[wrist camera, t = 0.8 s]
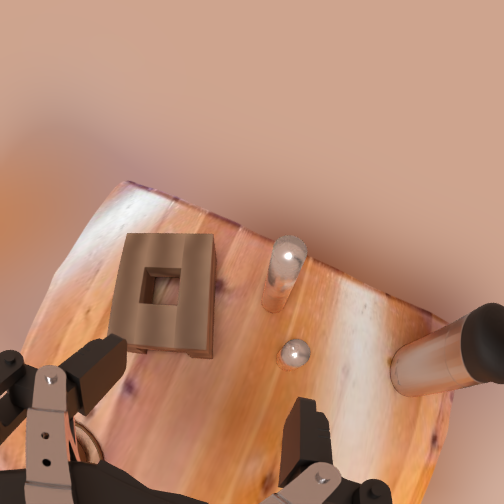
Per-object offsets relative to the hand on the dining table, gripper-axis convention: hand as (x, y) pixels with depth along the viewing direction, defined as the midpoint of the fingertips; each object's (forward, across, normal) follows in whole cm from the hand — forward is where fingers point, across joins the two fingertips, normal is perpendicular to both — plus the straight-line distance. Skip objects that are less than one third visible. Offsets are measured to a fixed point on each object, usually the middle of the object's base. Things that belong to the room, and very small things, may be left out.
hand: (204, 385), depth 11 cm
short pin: (+26, -8, +13) cm, 30 cm away
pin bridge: (+28, +11, +12) cm, 33 cm away
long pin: (+31, -3, +8) cm, 32 cm away
